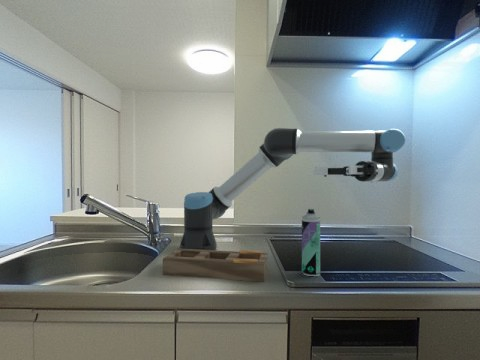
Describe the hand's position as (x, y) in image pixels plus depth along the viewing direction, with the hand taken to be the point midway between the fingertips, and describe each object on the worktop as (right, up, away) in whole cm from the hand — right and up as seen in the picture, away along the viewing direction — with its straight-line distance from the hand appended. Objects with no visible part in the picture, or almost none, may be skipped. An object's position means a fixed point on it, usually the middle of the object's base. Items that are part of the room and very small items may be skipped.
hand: (330, 170), depth 90 cm
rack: (-37, -32, -3) cm, 49 cm away
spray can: (-8, -32, -5) cm, 34 cm away
